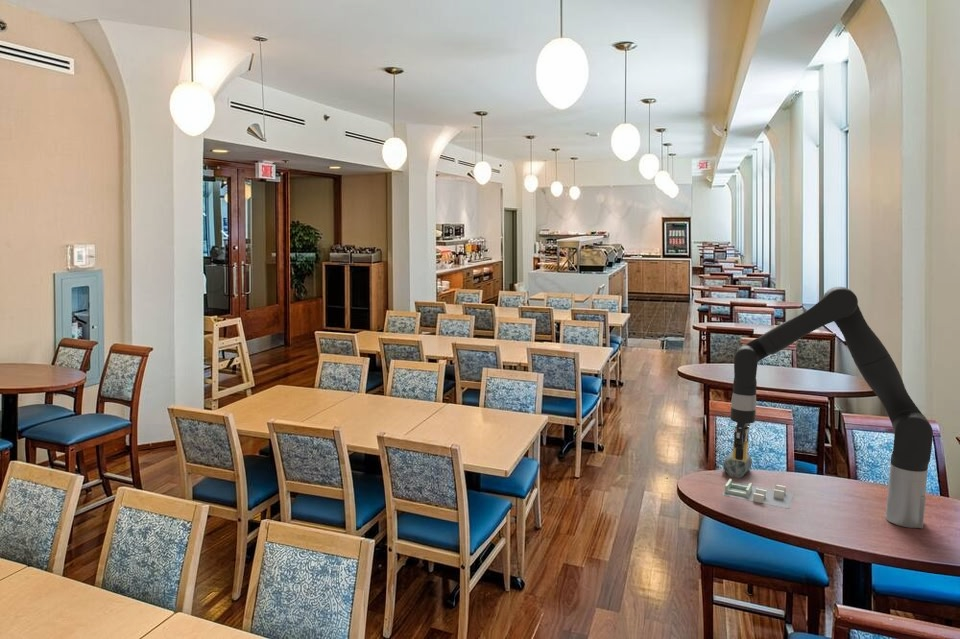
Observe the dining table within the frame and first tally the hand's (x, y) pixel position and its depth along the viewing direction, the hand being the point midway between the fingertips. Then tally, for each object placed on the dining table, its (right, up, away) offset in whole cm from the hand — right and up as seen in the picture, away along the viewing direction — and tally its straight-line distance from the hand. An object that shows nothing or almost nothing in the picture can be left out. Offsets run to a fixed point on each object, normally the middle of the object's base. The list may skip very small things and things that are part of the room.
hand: (740, 457), depth 210 cm
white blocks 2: (+12, -12, -2) cm, 17 cm away
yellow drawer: (0, -1, 0) cm, 1 cm away
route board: (+6, -13, -1) cm, 14 cm away
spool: (+7, -11, +20) cm, 23 cm away
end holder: (0, -12, +1) cm, 12 cm away
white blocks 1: (+4, -12, -5) cm, 14 cm away
